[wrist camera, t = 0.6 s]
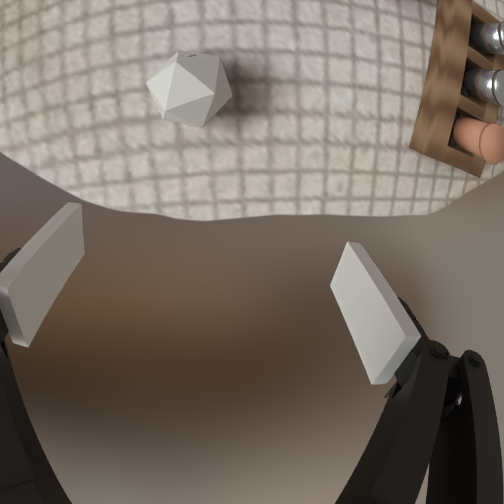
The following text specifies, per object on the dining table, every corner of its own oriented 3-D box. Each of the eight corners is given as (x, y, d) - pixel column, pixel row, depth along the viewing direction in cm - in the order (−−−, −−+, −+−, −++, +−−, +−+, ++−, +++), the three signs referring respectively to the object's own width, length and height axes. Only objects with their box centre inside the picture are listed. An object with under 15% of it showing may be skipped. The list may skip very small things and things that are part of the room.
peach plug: (456, 108, 32) (488, 117, 26) (479, 122, 32) (510, 133, 27) (447, 143, 34) (478, 157, 28) (471, 154, 35) (500, 169, 29)
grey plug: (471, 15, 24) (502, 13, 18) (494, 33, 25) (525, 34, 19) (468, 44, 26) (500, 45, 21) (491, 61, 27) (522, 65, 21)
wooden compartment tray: (438, -6, 26) (457, -11, 22) (489, 29, 28) (509, 30, 23) (408, 147, 39) (427, 156, 35) (461, 168, 41) (479, 178, 37)
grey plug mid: (465, 59, 28) (498, 62, 22) (488, 75, 29) (520, 81, 23) (460, 92, 30) (492, 99, 24) (483, 106, 31) (514, 115, 25)
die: (245, 88, 35) (232, 36, 25) (217, 148, 34) (194, 104, 25) (186, 77, 36) (162, 30, 26) (157, 132, 36) (121, 92, 26)
